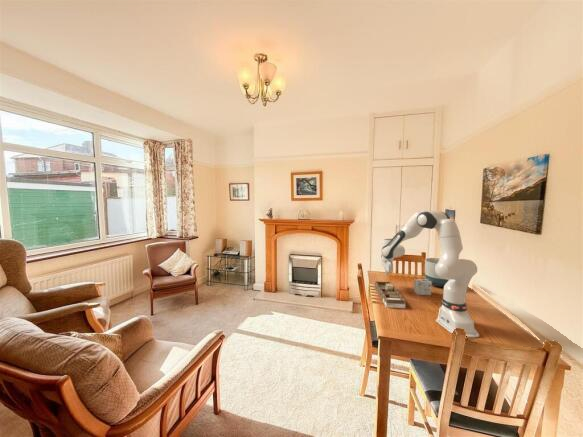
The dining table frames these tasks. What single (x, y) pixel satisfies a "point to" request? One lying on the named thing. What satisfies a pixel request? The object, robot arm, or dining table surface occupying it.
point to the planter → (433, 272)
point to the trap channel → (389, 295)
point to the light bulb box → (422, 286)
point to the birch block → (389, 287)
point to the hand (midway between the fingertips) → (386, 274)
